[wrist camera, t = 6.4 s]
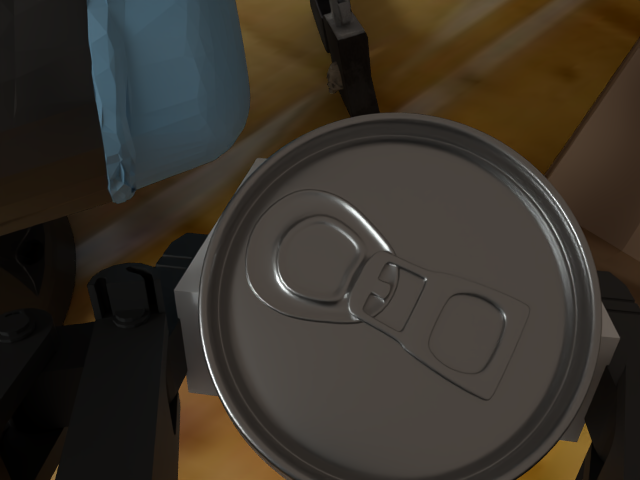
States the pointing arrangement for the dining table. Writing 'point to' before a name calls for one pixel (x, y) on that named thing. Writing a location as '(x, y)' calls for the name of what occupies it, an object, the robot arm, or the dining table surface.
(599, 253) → the socket block
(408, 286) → the can
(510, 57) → the dining table surface
